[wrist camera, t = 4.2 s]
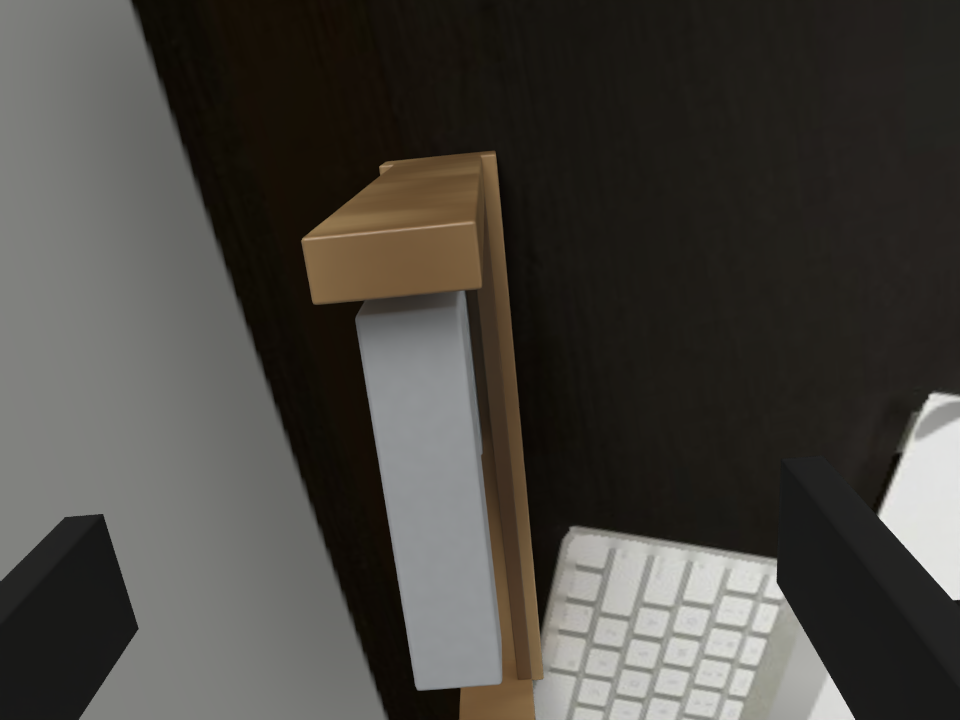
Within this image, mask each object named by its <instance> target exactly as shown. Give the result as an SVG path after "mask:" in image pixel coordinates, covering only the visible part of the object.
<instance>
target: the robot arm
mask: <svg viewBox="0 0 960 720" xmlns="http://www.w3.org/2000/svg"><path fill="white" fill-rule="evenodd" d="M777 584H778V585H779V587H780V589H781V591H782V592H783V594H784V596H785V598H786V599H787V601H788V603H789V605H790V606H791V608H792V610H793V612H794V613H795V615H796V617H797V619H798V620H799V622H800V624H801V626H802V627H803V629H804V631H805V632H806V634H807V636H808V638H809V639H810V641H811V643H812V645H813V646H814V648H815V650H816V652H817V653H818V655H819V657H820V658H821V660H822V662H823V664H824V666H825V667H826V669H827V671H828V673H829V674H830V676H831V678H832V679H833V681H834V683H835V685H836V686H837V688H838V690H839V692H840V693H841V695H842V697H843V699H844V700H845V702H846V704H847V706H848V707H849V709H850V711H851V713H852V714H853V716H854V718H855V720H960V600H952V599H951V598H950V596H949V595H948V594H947V593H946V592H945V591H944V590H943V589H942V588H941V586H940V585H939V584H938V583H937V582H936V581H935V580H934V579H933V578H932V576H931V575H930V574H929V573H928V572H927V571H926V570H925V569H924V568H923V566H922V565H921V564H920V563H919V562H918V561H917V560H916V559H915V558H914V556H913V555H912V554H911V553H910V552H909V551H908V550H907V549H906V548H905V546H904V545H903V544H902V543H901V542H900V541H899V540H898V539H897V538H896V536H895V535H894V534H893V533H892V532H891V531H890V530H889V529H888V528H887V526H886V525H885V524H884V523H883V522H882V521H881V520H880V519H879V518H878V516H877V515H876V514H875V513H874V512H873V511H872V510H871V509H870V508H869V506H868V505H867V504H866V503H865V502H864V501H863V500H862V499H861V498H860V496H859V495H858V494H857V493H856V492H855V491H854V490H853V489H852V488H851V486H850V485H849V484H848V483H847V482H846V481H845V480H844V479H843V478H842V476H841V475H840V474H839V473H838V472H837V471H836V470H835V469H834V468H833V466H832V465H831V464H830V463H829V462H828V461H827V460H826V459H825V458H824V456H813V457H801V458H789V459H781V480H780V506H779V532H778V558H777ZM137 630H138V625H137V622H136V619H135V615H134V612H133V609H132V606H131V603H130V600H129V596H128V593H127V590H126V586H125V583H124V580H123V577H122V574H121V570H120V567H119V564H118V561H117V558H116V555H115V551H114V548H113V545H112V542H111V539H110V535H109V532H108V529H107V525H106V522H105V519H104V516H103V514H98V515H86V516H73V517H65V518H64V519H63V520H62V521H61V522H60V523H59V524H58V525H57V526H56V527H55V528H54V529H53V530H52V531H51V532H50V533H49V534H48V535H47V536H46V537H45V538H44V539H43V540H42V541H41V542H40V543H39V544H38V545H37V546H36V547H35V548H34V549H33V550H32V551H31V552H30V553H29V554H28V555H27V556H26V557H25V558H24V559H23V560H22V561H21V562H20V563H19V564H18V565H17V566H16V567H15V568H14V569H13V570H12V571H11V572H10V573H9V574H8V575H7V576H6V577H5V578H4V579H3V580H2V581H1V582H0V720H79V718H80V717H81V715H82V714H83V712H84V711H85V709H86V708H87V706H88V705H89V703H90V702H91V700H92V698H93V697H94V696H95V694H96V692H97V691H98V689H99V688H100V686H101V685H102V683H103V682H104V680H105V679H106V677H107V676H108V674H109V673H110V671H111V670H112V668H113V666H114V665H115V664H116V662H117V661H118V659H119V658H120V656H121V654H122V653H123V651H124V650H125V649H126V647H127V645H128V644H129V642H130V641H131V639H132V638H133V636H134V635H135V633H136V632H137Z"/></svg>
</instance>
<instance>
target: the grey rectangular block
mask: <svg viewBox="0 0 960 720" xmlns="http://www.w3.org/2000/svg"><path fill="white" fill-rule="evenodd" d="M355 321H356V327H357V333H358V339H359V345H360V351H361V358H362V364H363V370H364V376H365V382H366V388H367V394H368V400H369V406H370V412H371V418H372V424H373V430H374V437H375V443H376V449H377V455H378V461H379V467H380V473H381V479H382V485H383V491H384V497H385V503H386V510H387V516H388V522H389V528H390V534H391V540H392V546H393V552H394V558H395V564H396V570H397V576H398V583H399V589H400V595H401V601H402V607H403V613H404V619H405V625H406V631H407V637H408V643H409V649H410V655H411V662H412V668H413V674H414V680H415V686H416V688H417V690H420V691H421V690H434V689H448V688H461V687H475V686H488V685H499V684H501V682H502V645H501V630H500V621H499V613H498V604H497V595H496V586H495V577H494V568H493V559H492V550H491V541H490V533H489V524H488V515H487V506H486V497H485V488H484V479H483V470H482V461H481V455H482V454H483V438H482V429H481V420H480V411H479V402H478V393H477V384H476V375H475V366H474V357H473V348H472V339H471V330H470V321H469V312H468V303H467V294H466V291H455V292H445V293H435V294H424V295H414V296H404V297H393V298H383V299H373V300H365V302H364V304H363V305H362V307H361V309H360V310H359V312H358V314H357V316H356V319H355Z"/></svg>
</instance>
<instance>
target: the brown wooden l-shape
mask: <svg viewBox="0 0 960 720" xmlns="http://www.w3.org/2000/svg"><path fill="white" fill-rule="evenodd" d="M379 169H380V176H379V177H378V178H377V179H376V180H374V181H373V182H372V183H371V184H369V185H368V186H367V187H366V188H364V189H363V190H362V191H361V192H360V193H358V194H357V195H356V196H355V197H353V198H352V199H351V200H350V201H348V202H347V203H346V204H345V205H343V206H342V207H341V208H340V209H338V210H337V211H336V212H335V213H333V214H332V215H331V216H330V217H328V218H327V219H326V220H325V221H323V222H322V223H321V224H320V225H318V226H317V227H316V228H315V229H313V230H312V231H311V232H310V233H308V234H307V235H306V236H305V237H303V238H302V241H301V242H302V247H303V253H304V258H305V264H306V269H307V275H308V280H309V285H310V291H311V296H312V302H313V303H314V304H316V305H321V304H331V303H342V302H352V301H362V300H373V299H383V298H393V297H404V296H414V295H424V294H435V293H445V292H455V291H466V294H467V303H468V312H469V321H470V330H471V339H472V348H473V357H474V366H475V375H476V384H477V393H478V402H479V411H480V420H481V429H482V438H483V454H482V455H481V461H482V470H483V479H484V488H485V497H486V506H487V515H488V524H489V533H490V541H491V550H492V559H493V568H494V577H495V586H496V595H497V604H498V613H499V621H500V630H501V645H502V682H501V684H499V685H488V686H475V687H461V692H460V715H459V720H536V719H535V706H534V693H533V680H541V679H543V678H544V675H543V664H542V653H541V642H540V631H539V620H538V609H537V598H536V587H535V576H534V565H533V554H532V543H531V532H530V521H529V510H528V499H527V488H526V477H525V466H524V455H523V444H522V433H521V423H520V412H519V401H518V390H517V379H516V368H515V357H514V346H513V335H512V324H511V313H510V302H509V291H508V280H507V269H506V258H505V247H504V236H503V225H502V214H501V203H500V192H499V181H498V170H497V159H496V152H495V151H485V152H476V153H466V154H456V155H447V156H437V157H428V158H418V159H409V160H399V161H389V162H385V163H384V164H382V165H381V166H380V167H379Z"/></svg>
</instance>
